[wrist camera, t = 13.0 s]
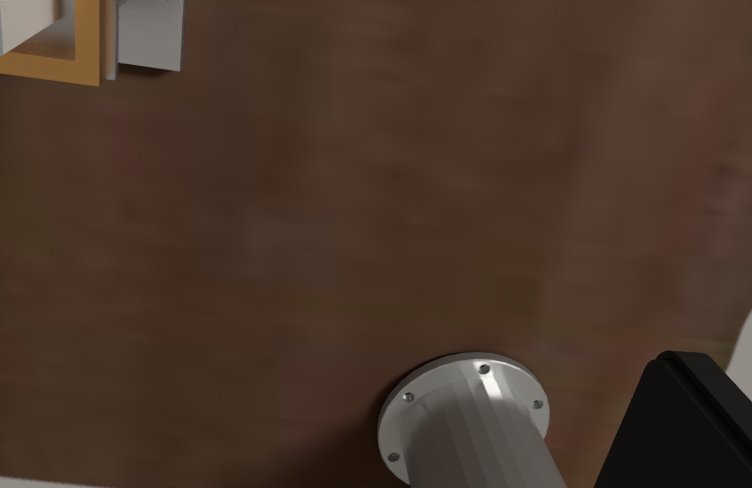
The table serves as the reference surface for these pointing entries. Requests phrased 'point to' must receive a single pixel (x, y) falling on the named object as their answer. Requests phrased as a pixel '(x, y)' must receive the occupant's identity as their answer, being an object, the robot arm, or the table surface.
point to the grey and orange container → (102, 41)
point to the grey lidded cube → (24, 20)
